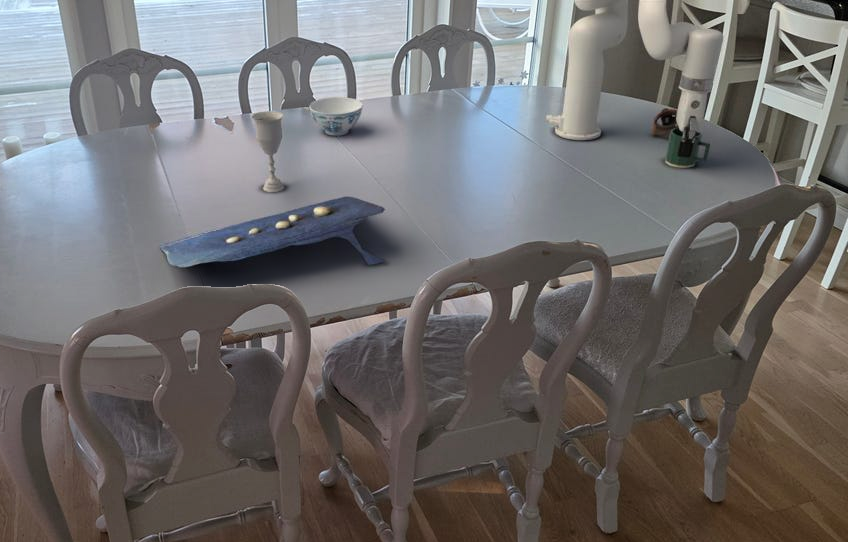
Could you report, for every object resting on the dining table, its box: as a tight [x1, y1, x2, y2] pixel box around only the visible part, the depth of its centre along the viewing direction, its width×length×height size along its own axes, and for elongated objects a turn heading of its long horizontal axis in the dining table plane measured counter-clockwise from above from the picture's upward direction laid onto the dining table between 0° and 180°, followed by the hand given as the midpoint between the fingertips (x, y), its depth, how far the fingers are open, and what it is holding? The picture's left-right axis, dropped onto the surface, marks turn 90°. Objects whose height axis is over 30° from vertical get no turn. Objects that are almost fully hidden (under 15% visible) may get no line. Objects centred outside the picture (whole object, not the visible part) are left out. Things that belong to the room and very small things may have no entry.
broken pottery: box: [651, 107, 678, 137], centre depth 218 cm, size 12×10×8 cm
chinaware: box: [309, 96, 364, 137], centre depth 223 cm, size 15×15×8 cm
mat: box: [158, 196, 386, 268], centre depth 163 cm, size 45×27×12 cm, turn 114°
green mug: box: [664, 128, 711, 169], centre depth 198 cm, size 10×7×8 cm
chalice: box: [251, 110, 285, 193], centre depth 187 cm, size 7×7×18 cm
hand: (681, 149), depth 200 cm, fingers open, 9 cm apart
